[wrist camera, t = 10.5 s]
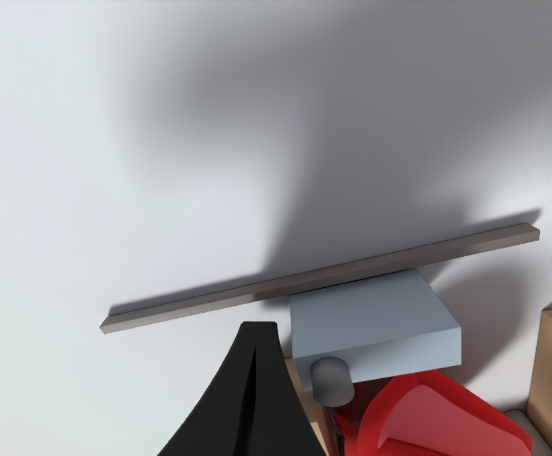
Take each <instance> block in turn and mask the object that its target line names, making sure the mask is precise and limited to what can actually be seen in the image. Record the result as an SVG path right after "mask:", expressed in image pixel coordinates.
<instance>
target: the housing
mask: <svg viewBox="0 0 552 456" xmlns="http://www.w3.org/2000/svg"><path fill="white" fill-rule="evenodd" d="M539 236H540V230H539V229H537V228H535V227H533V226H531V225H530V224H528V223H524V224H519V225H515V226H510V227H506V228H501V229H497V230H492V231H488V232H483V233H479V234H475V235H470V236H466V237H461V238H457V239H452V240H448V241H443V242H439V243H434V244H430V245H426V246H421V247H417V248H412V249H408V250H403V251H399V252H394V253H390V254H385V255H381V256H377V257H372V258H368V259H363V260H359V261H354V262H350V263H345V264H341V265H336V266H332V267H328V268H323V269H319V270H314V271H310V272H305V273H301V274H296V275H292V276H287V277H283V278H279V279H274V280H270V281H265V282H261V283H256V284H252V285H247V286H243V287H238V288H234V289H230V290H225V291H221V292H216V293H212V294H207V295H203V296H198V297H194V298H189V299H185V300H181V301H176V302H172V303H167V304H163V305H158V306H154V307H149V308H145V309H140V310H136V311H132V312H127V313H123V314H118V315H114V316H109V317H107V318H106V319H105V320H104V322H103V323H102V324H101V326H100V327H99V328H100V329H101V330H102V332H103V333H104V334H107V333H112V332H116V331H121V330H126V329H130V328H135V327H139V326H144V325H149V324H153V323H158V322H163V321H167V320H172V319H177V318H181V317H186V316H190V315H195V314H200V313H204V312H209V311H214V310H218V309H223V308H227V307H232V306H237V305H241V304H246V303H251V302H255V301H260V300H264V299H269V298H274V297H278V296H283V295H288V294H292V293H297V292H301V291H306V290H311V289H315V288H320V287H325V286H329V285H334V284H339V283H343V282H348V281H352V280H357V279H362V278H366V277H371V276H376V275H380V274H385V273H389V272H394V271H399V270H403V269H408V268H413V267H417V266H422V265H426V264H431V263H436V262H440V261H445V260H450V259H454V258H459V257H463V256H468V255H473V254H477V253H482V252H487V251H491V250H496V249H501V248H505V247H510V246H514V245H519V244H524V243H528V242H533V241H538V240H539ZM284 360H285V363H286V366H287V369H288V372H289V375H290V378H291V380H292V383H293V385H294V388H295V390H296V393H297V395H298V398H299V400H300V402H301V405H302V407H303V409H304V411H305V414H306V416H307V418H308V420H309V422H310V424H311V426H312V428H313V430H314V432H315V434H316V436H317V438H318V440H319V442H320V444H321V446H322V447H323V449H324V451H325V453H326V455H327V456H345V448H344V446H345V437H344V436H342V437H341V438H340V440H339V441H340V447H341V449H340V447H339V444H338V441H337V438H336V435H335V432H334V428H333V425H332V422H331V419H330V416H329V413H328V410H327V407H326V406H323V405H320V404H319V403H317V402H316V401H315V399H314V397H313V390H308V391H304V389H303V386H302V383H301V380H300V378H299V375H298V372H297V369H296V367H295V364H294V361H293V358H287V359H284ZM504 415H505V416H507V417H508V418H510V419H511V420H512V421H514V422H515V423H516V424H518V425H519V426H520V427H521V428H522V429H524V430H525V432H526V433H527V434H528V435H529V437H530V438H531V441H532V444H533V447H532V452H531V455H532V456H552V309H551V310H545V311H542V316H541V322H540V329H539V335H538V342H537V348H536V355H535V361H534V368H533V374H532V381H531V387H530V394H529V400H528V407H527V413H526V415H525V414H524V413H523V412H522V411H520V410H511V411H508V412H506V413H504Z"/></svg>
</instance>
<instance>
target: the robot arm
mask: <svg viewBox="0 0 552 456" xmlns="http://www.w3.org/2000/svg"><path fill="white" fill-rule="evenodd" d="M157 456H327V455H326V453H325V451H324V449H323V447H322V446H321V444H320V442H319V440H318V438H317V436H316V434H315V432H314V430H313V428H312V426H311V424H310V422H309V420H308V418H307V416H306V414H305V411H304V409H303V407H302V405H301V402H300V400H299V398H298V395H297V393H296V390H295V388H294V385H293V383H292V380H291V378H290V375H289V372H288V369H287V366H286V363H285V360H284V357H283V353H282V349H281V345H280V341H279V336H278V329H277V323H276V322H252V321H244V322H243V323H241V325H240V328H239V331H238V333H237V335H236V338H235V340H234V342H233V344H232V346H231V348H230V350H229V352H228V354H227V356H226V357H225V359H224V361H223V363H222V365H221V366H220V368H219V370H218V372H217V373H216V375H215V377H214V378H213V380H212V381H211V383H210V385H209V386H208V388H207V389H206V391H205V393H204V394H203V396H202V397H201V399H200V400H199V402H198V403H197V404H196V406H195V407H194V409H193V410H192V412H191V413H190V414H189V416H188V417H187V418H186V420H185V421H184V422H183V424H182V425H181V426H180V428H179V429H178V430H177V432H176V433H175V434H174V435H173V437H172V438H171V439H170V440H169V442H168V443H167V444H166V445H165V447H164V448H163V449H162V450H161V452H160V453H159V454H158V455H157Z"/></svg>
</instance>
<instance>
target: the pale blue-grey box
mask: <svg viewBox="0 0 552 456" xmlns="http://www.w3.org/2000/svg"><path fill="white" fill-rule="evenodd" d="M290 314H291V336H292V357H293V361H294V364H295V367H296V369H297V372H298V375H299V378H300V380H301V383H302V386H303V389H304V391H308V390H313V397H314V399H315V401H316V402H317V403H319V404H320V405H323V406H327V407H338V406H342V405H345V404H347V403H348V402H350V401H351V400H352V398H353V397H354V388H353V384H352V383H355V382H361V381H367V380H373V379H379V378H385V377H391V376H396V375H402V374H408V373H414V372H420V371H426V370H432V369H438V368H444V367H450V366H455V365H461V326H460V325H459V324H458V322H457V321H456V320H455V318H454V317H453V316H452V314H451V313H450V312H449V311H448V309H447V308H446V307H445V305H444V304H443V303H442V301H441V300H440V299H439V298H438V296H437V295H436V294H435V292H434V291H433V290H432V288H431V287H430V286H429V285H428V283H427V282H426V281H425V279H424V278H423V277H422V275H421V274H420V273H419V272H418V270H417V269H412V270H407V271H403V272H398V273H393V274H389V275H384V276H379V277H375V278H370V279H366V280H361V281H356V282H352V283H347V284H342V285H338V286H333V287H328V288H324V289H319V290H314V291H310V292H305V293H300V294H296V295H291V296H290Z"/></svg>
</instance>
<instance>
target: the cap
mask: <svg viewBox="0 0 552 456" xmlns="http://www.w3.org/2000/svg"><path fill="white" fill-rule="evenodd" d="M334 419H335V422H336V424H337V426H338V428H339V430H340V431H341V433H342V434H343V436H344V437H345V446H344V448H345V456H532V455H531V452H532V447H533V444H532V441H531V438H530V437H529V435H528V434H527V433H526V432H525V430H524V429H522V428H521V427H520V426H519V425H518V424H516V423H515V422H514V421H512V420H511V419H510V418H508V417H507V416H505V415H504V414H503V413H501V412H500V411H498V410H497V409H495V408H494V407H492V406H491V405H490V404H488V403H487V402H485V401H484V400H482V399H481V398H479V397H478V396H476V395H475V394H473V393H472V392H471V391H469V390H468V389H466V388H465V387H463V386H461V385H460V384H458V383H457V382H455V381H454V380H452V379H451V378H449V377H447V376H446V375H444V374H443V373H441V372H439V371H438V370H436V369H432V370H426V371H420V372H414V373H408V374H402V375H396V376H394V378H393V379H392V380H391V381H390V382H389V383H388V384H387V385H386V386H385V387H384V388H383V389H382V390H381V391H380V392H379V393H378V394H377V395H376V396H375V398H374V399H373V400H372V401H371V403H370V404H369V406H368V407H367V409H366V411H365V413H364V415H363V417H362V420H361V423H360V427H359V428H358V427H356V426H355V425H354V424H353V423H351V422H350V421H349V420H348V419H346V418H345V417H343V416H342V415H340V414H338V413H336V412H335V413H334Z"/></svg>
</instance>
